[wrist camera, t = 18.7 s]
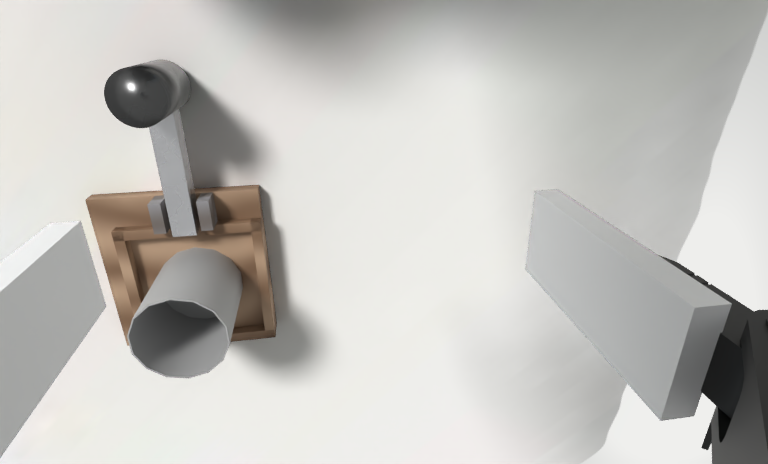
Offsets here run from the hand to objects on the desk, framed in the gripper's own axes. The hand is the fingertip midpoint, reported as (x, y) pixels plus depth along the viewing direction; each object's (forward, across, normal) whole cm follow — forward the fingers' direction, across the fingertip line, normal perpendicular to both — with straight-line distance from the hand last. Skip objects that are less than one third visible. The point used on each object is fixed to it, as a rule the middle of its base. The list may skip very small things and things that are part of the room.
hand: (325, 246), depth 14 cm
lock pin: (+34, -13, -5) cm, 37 cm away
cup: (+33, -13, -19) cm, 41 cm away
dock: (+35, -14, -18) cm, 41 cm away
